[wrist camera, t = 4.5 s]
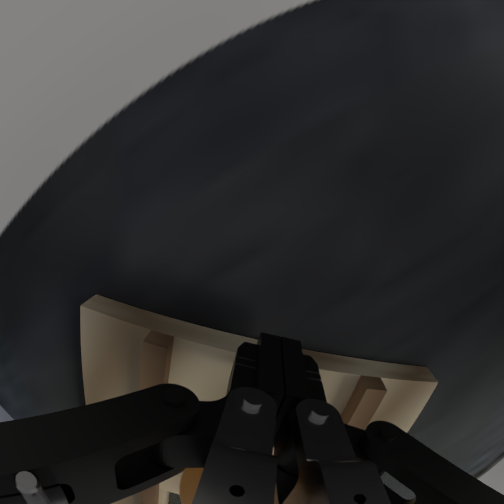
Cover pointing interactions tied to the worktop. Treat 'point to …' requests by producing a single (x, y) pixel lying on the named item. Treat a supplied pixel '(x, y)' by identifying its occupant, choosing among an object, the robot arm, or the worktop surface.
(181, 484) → the ball
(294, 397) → the robot arm
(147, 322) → the beige tray
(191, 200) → the worktop surface
